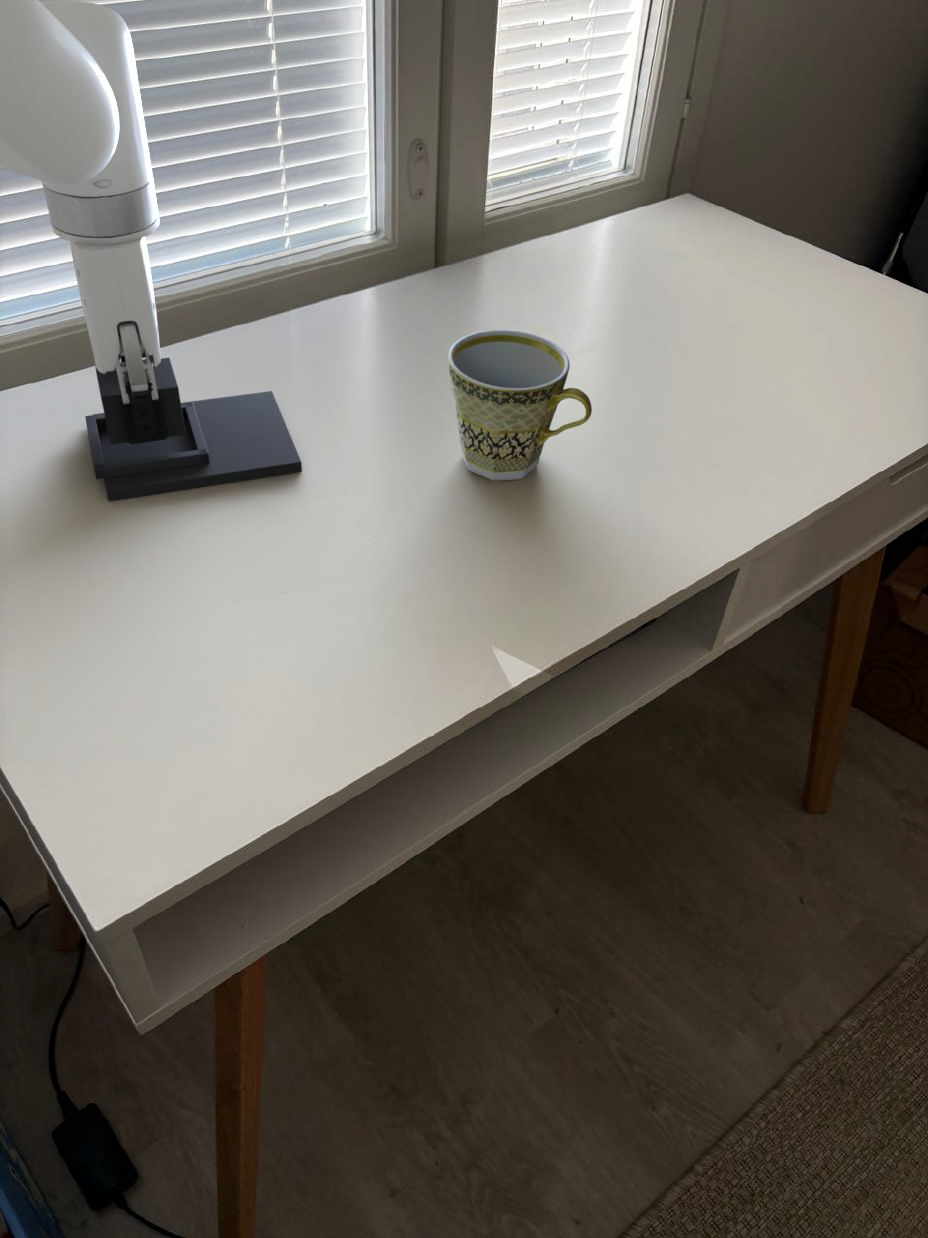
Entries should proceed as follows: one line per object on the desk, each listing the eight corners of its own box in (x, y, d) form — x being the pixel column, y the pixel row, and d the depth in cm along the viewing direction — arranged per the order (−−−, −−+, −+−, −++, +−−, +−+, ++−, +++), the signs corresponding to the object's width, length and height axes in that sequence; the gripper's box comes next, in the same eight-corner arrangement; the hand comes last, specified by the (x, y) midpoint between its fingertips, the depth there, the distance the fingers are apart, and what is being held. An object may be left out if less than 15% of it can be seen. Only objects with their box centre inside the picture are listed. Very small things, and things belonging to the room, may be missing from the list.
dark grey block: (111, 444, 83) (100, 396, 80) (105, 413, 86) (95, 365, 83) (185, 434, 84) (178, 387, 81) (176, 403, 88) (169, 357, 85)
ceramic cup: (420, 464, 88) (424, 361, 81) (482, 416, 95) (491, 317, 88) (548, 521, 83) (563, 416, 77) (604, 467, 90) (623, 365, 83)
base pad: (100, 502, 82) (95, 482, 81) (87, 424, 90) (83, 404, 89) (302, 471, 87) (300, 451, 85) (272, 400, 95) (271, 381, 93)
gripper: (40, 165, 77) (88, 377, 90) (55, 258, 66) (107, 486, 78) (141, 158, 79) (174, 366, 92) (172, 248, 68) (205, 471, 80)
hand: (143, 419), depth 85 cm, fingers closed on dark grey block, 5 cm apart
